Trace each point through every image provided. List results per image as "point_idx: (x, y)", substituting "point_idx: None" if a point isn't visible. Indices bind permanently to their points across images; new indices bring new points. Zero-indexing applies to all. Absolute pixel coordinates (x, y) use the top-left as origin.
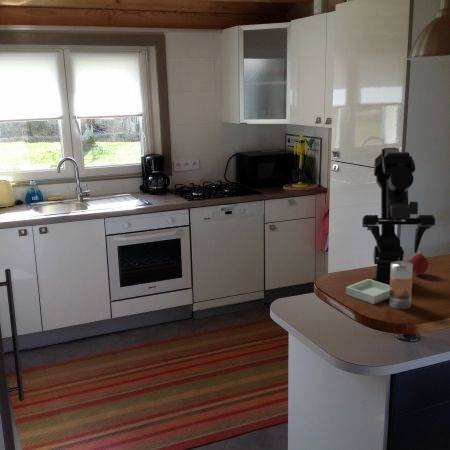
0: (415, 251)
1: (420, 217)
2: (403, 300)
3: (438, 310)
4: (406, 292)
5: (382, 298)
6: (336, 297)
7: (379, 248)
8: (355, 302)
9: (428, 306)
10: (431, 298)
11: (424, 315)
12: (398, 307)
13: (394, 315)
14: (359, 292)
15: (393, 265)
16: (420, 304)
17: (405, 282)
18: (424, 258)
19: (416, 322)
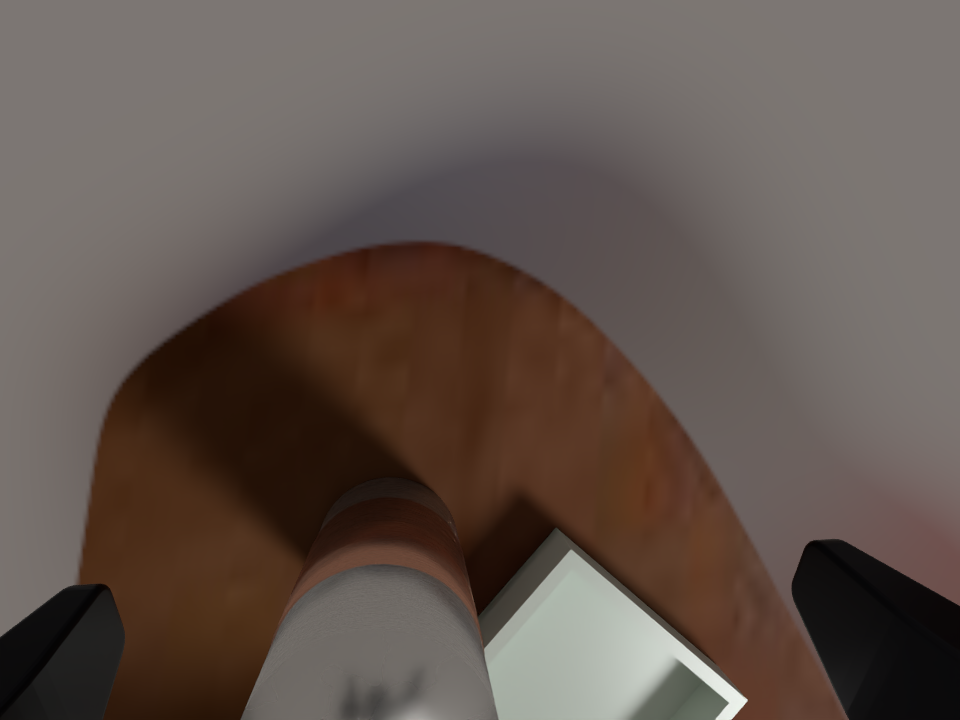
0: (86, 598)
1: None
2: (371, 496)
3: (139, 483)
4: (345, 523)
5: (500, 601)
6: (776, 609)
7: (906, 578)
8: (666, 545)
9: (199, 543)
10: (160, 689)
11: (246, 387)
12: (405, 481)
13: (441, 365)
14: (660, 624)
15: (474, 694)
16: (250, 570)
17: (348, 554)
18: None
19: (311, 268)
